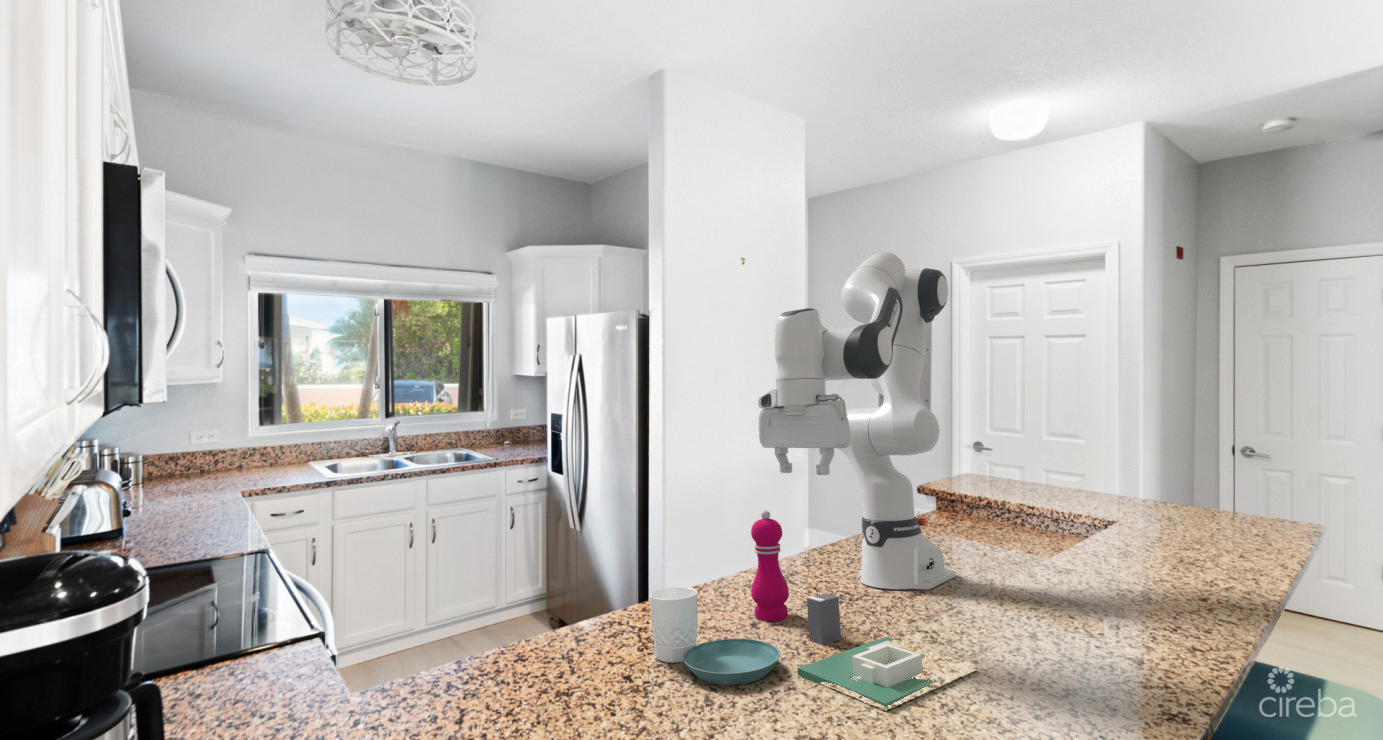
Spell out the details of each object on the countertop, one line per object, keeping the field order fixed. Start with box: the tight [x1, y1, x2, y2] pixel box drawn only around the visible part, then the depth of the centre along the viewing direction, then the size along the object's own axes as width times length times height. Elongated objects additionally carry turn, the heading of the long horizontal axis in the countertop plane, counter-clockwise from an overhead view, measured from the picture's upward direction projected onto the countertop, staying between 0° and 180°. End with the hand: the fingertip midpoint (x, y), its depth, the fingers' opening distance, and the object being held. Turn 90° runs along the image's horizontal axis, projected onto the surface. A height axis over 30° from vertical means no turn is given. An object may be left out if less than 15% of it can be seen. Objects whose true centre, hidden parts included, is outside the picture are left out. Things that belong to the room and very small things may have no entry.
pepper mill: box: [750, 510, 790, 622], centre depth 126 cm, size 7×7×20 cm
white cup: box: [649, 586, 699, 664], centre depth 107 cm, size 8×8×10 cm
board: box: [796, 636, 936, 707], centre depth 95 cm, size 20×16×4 cm
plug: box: [806, 592, 842, 646], centre depth 111 cm, size 4×3×7 cm, turn 125°
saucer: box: [683, 638, 781, 686], centre depth 99 cm, size 15×15×3 cm
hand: (804, 473), depth 117 cm, fingers open, 8 cm apart
